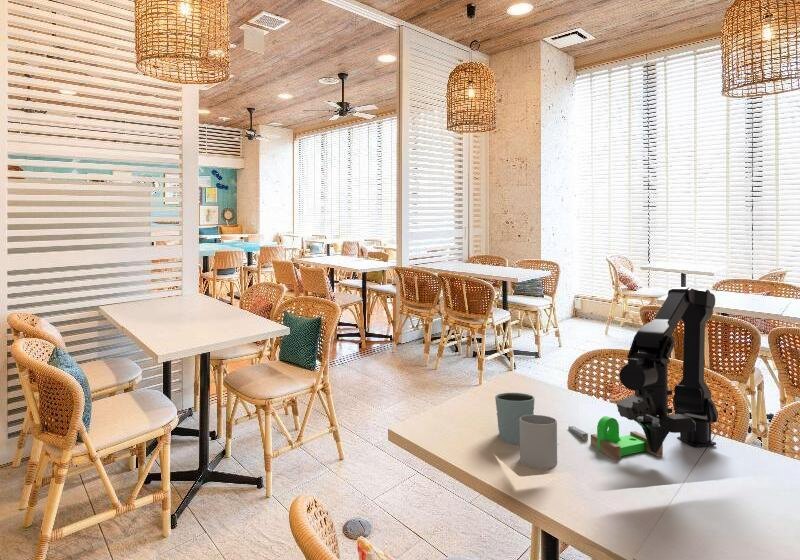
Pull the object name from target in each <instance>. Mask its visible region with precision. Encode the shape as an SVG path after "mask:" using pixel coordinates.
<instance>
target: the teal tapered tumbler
mask: <svg viewBox="0 0 800 560" xmlns="http://www.w3.org/2000/svg"><path fill="white" fill-rule="evenodd" d="M494 398H495V406H496V407H495V408H496V416H497V427H498V437H499V438H500V440H501V441H503V442H504V443H507V444H510V445H518V446H520V417H522V416H526V415H535V414H534V413H535V397H534V396H533V395H532V394H529V393H522V392H504V393H503V392H502V393H498V394H496V395H495V397H494Z"/></svg>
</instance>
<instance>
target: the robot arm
mask: <svg viewBox="0 0 800 560" xmlns="http://www.w3.org/2000/svg"><path fill="white" fill-rule="evenodd" d="M715 305H716V296H715V295H714V293H711V291H710V290H709V289H695V288H691V287H687V286H686V287H684V286H683V287H677V286H674V287H671V288H669V289H668V291H667V296H666V298H665V300H664V302H663V304H662V305H661V307H660V308H659V310H658V312H657V313H656V315H655V316H654V318H653V320H651V321H650V322H647V323H645V324H643V325H642V326H641V327H639V329H638V331H636V333H635V335H634V337H633V340H632V342H631V344H630V347H629V351H628V354H627V364H625V365H623V366H622V367H621V369H620V371H619V373H618V374H619V375H618V376H619V377H618V378H619V381H620V383H621V384H622V386H624V388H626V389H627V390H630V391H634V394H633V395H630V396H627V397H624V398H623V399H620V400H618V401H616V403H615V404H616V408H617V412H618V413H619V416H620V417H622V418H626V419H627V420H629V421H634V422H635V423H637V424H638V425H639V426H640V427H641V428H642V430H643V433H644V435H645V436H646V438H647V441H648V444H649V447H650V450H651V452H653V453H657V452H658V450H659V449H660V447H661V445H662V443H664V441H665V440H666V438H667V436H668V435H669V433H672V434H678V433H679V434H680V435H679V436H676V439H678V440H679V441H681V442H682V443H685V444H688V445H690V446H693V447H702V446H703V447H705V446H717V442H716V441H713V440H712V423H715V424H716V423H718V418H719V411H718V409H717V407H716V405H715V403H714V400H713V399H712V390H711V389H710V388H709V386H708V385H707V383H706V381H705V342H706V340H705V339H706V338H705V337H706V324H707V322H708V321H709V320H710V319H711V317H712V316H713V315H714V308H715ZM681 320H682V322H683V344H682V345H683V347H682V349H683V352H682V353H683V354H682V356H683V357H682V379H681V380H680V381H679V383H678V384H676V385H675V386H674V388H673V390H672V389H669V385H668V384H669V382H668V381H669V377H668V376H669V374H668V364H670V363H671V360H670V356H671V354H672V352H673V350H674V348H675V342H676V341H675V338H674V335H673V334H674V331H675V330H676V328H677V326H678V324H679V323H680V321H681ZM673 391H674V392H673ZM673 393H674V394H673ZM669 396H673V397H672V406H673V408H672V407H669ZM673 411H674V413H673ZM672 413H673V414H672Z"/></svg>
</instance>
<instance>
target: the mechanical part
mask: <svg viewBox="0 0 800 560" xmlns="http://www.w3.org/2000/svg"><path fill="white" fill-rule="evenodd" d="M596 434H597V449H596V450H597V451H599V450H600V439H601V440H609V441H611V442H613V443H615V444H617V445H619V446H621V457H622V456H623V457H624V456H628V455H632V454H636V453H640V452H644V451H646V450H645V441H643V440H640V439H638V438H636V437H634V436H632V435H630V434H628V435H623V436H620V425H619V422H618V420H617V419H616V418H614V417H611V416H608V415H607V416H606V415H605V416H602V417H601V418H600V419H599V421H598V422H597V425H596Z"/></svg>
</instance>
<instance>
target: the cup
mask: <svg viewBox="0 0 800 560" xmlns="http://www.w3.org/2000/svg"><path fill="white" fill-rule="evenodd" d="M519 461H520V464H522V465H523V466H525V467H529V468H532V469H538V470H540V469H541V470H546V469H553V468H556V466H557V465H558V421H557V419H556V418H555V417H553V416H552V417H551V416H549V415H542V414H541V415H539V414H534V415H526V416H522V417H520V445H519Z"/></svg>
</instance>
